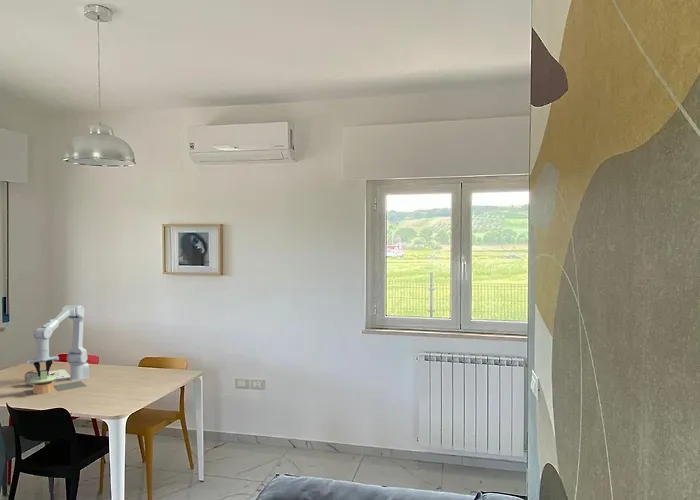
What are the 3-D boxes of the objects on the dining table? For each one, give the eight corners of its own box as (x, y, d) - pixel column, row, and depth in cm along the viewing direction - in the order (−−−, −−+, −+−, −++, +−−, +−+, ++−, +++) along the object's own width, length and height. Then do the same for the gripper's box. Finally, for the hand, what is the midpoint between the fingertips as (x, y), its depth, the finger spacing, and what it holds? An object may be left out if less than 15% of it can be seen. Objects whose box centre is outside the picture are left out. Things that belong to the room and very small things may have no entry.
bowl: (51, 388, 264) (51, 379, 264) (54, 392, 258) (54, 383, 258) (32, 392, 258) (31, 382, 258) (34, 395, 252) (34, 386, 252)
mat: (80, 381, 278) (80, 380, 278) (86, 386, 268) (86, 385, 268) (52, 386, 269) (52, 385, 269) (58, 391, 258) (58, 391, 258)
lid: (53, 375, 266) (53, 367, 266) (58, 380, 257) (58, 371, 257) (28, 379, 258) (27, 371, 258) (31, 384, 249) (31, 375, 249)
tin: (49, 386, 270) (49, 371, 270) (44, 387, 267) (44, 372, 267) (28, 384, 274) (28, 369, 274) (23, 385, 271) (23, 371, 271)
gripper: (27, 353, 250) (28, 379, 250) (59, 349, 260) (60, 374, 260) (25, 351, 255) (26, 376, 255) (57, 347, 265) (57, 371, 265)
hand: (43, 375), depth 258 cm, fingers closed on lid, 3 cm apart
